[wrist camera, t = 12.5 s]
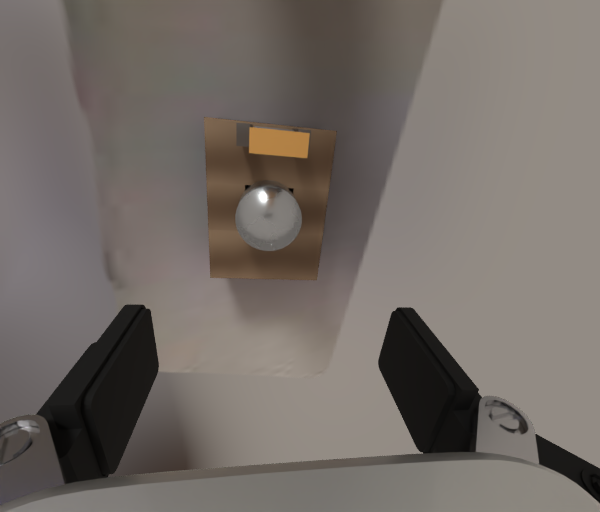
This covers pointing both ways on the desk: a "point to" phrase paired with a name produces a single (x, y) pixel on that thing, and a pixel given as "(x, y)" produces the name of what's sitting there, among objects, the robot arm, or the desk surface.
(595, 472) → the robot arm
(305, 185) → the hitch block
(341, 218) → the desk surface
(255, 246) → the silver rounded cylinder
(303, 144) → the bar
